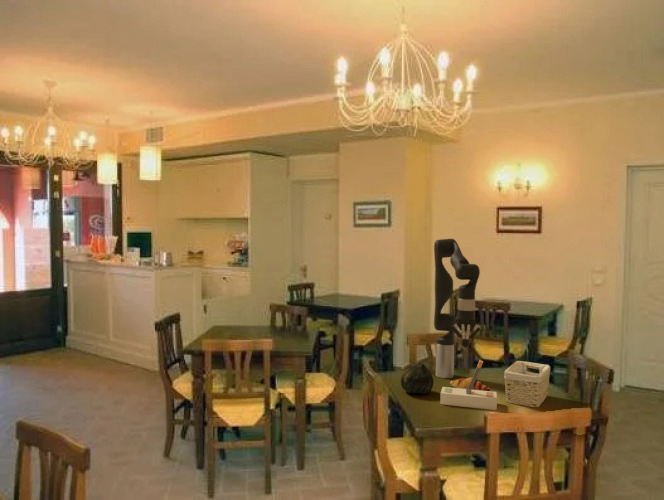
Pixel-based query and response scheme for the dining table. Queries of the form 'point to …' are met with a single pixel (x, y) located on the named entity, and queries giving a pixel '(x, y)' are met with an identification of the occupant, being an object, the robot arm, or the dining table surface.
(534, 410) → the dining table surface
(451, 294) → the robot arm
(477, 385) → the croissant
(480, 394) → the switch block
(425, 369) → the squash
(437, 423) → the dining table surface
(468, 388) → the lever
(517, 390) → the storage basket
